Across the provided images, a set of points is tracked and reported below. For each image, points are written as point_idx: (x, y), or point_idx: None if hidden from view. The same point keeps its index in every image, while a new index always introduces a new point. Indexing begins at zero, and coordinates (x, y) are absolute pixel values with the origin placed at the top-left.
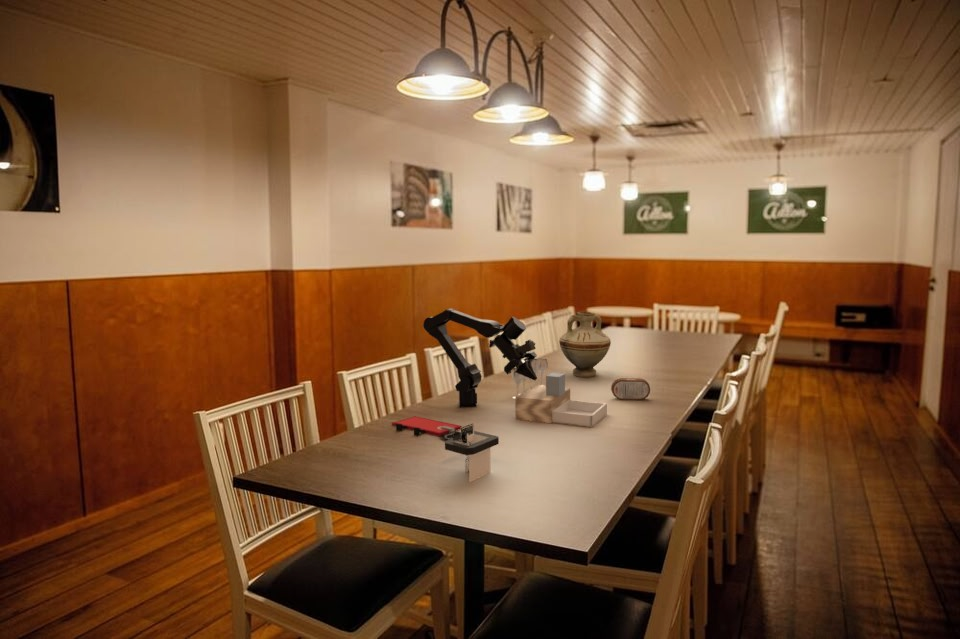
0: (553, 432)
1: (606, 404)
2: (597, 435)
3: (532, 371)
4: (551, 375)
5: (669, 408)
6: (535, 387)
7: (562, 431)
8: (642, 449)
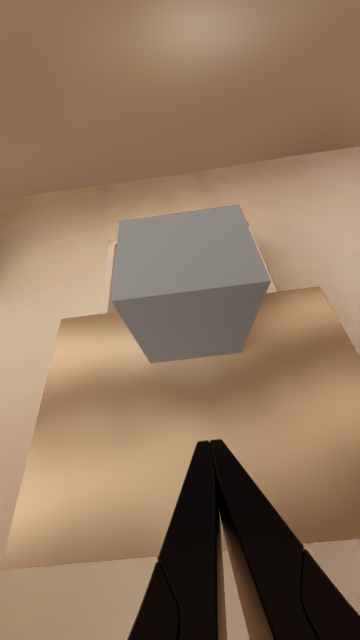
0: (351, 291)
1: (113, 241)
2: (285, 222)
3: (216, 543)
4: (225, 257)
5: (37, 207)
6: (80, 534)
7: (322, 279)
8: (296, 166)
